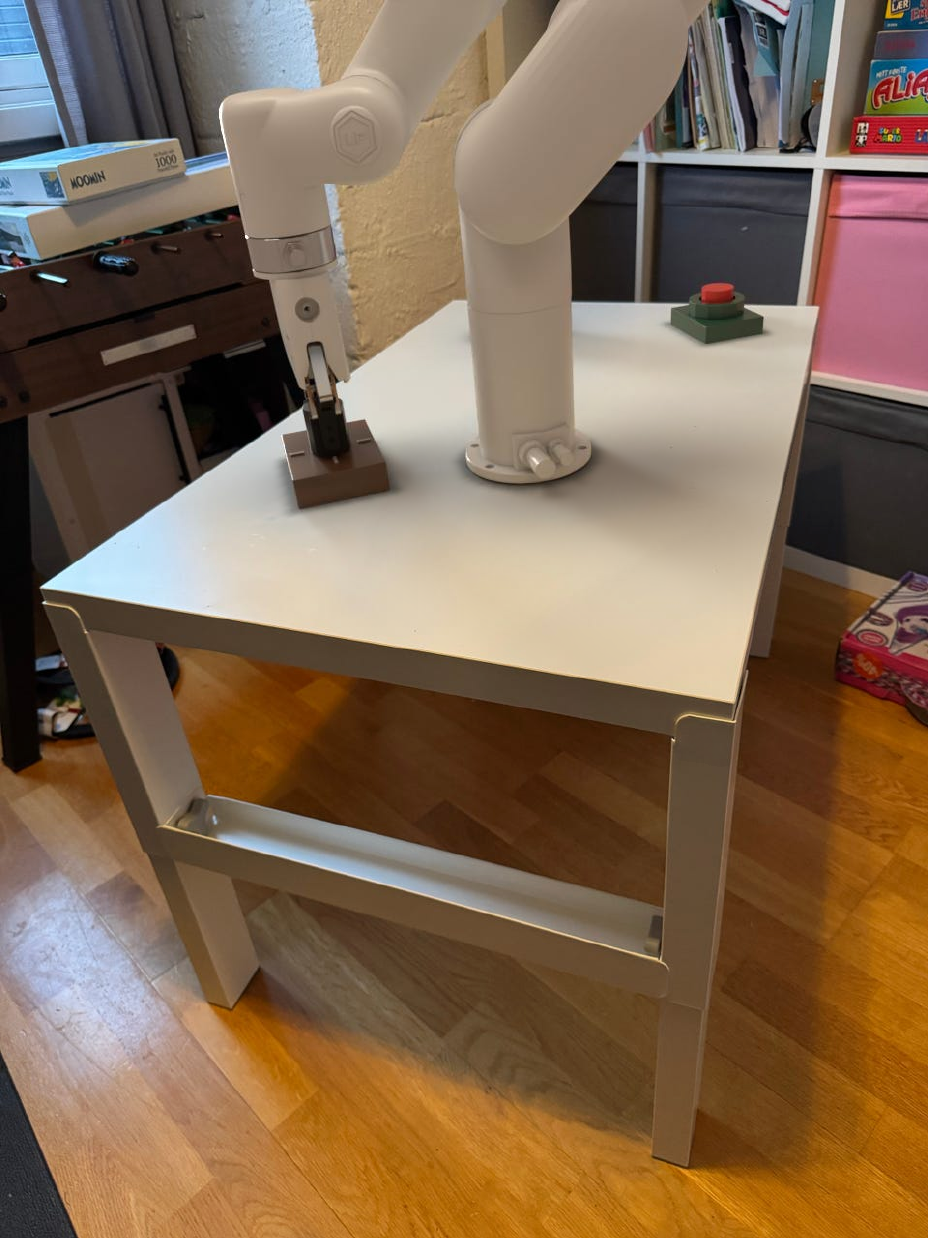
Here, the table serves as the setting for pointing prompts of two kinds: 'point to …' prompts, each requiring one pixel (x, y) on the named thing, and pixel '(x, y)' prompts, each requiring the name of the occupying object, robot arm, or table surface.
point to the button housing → (716, 319)
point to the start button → (717, 293)
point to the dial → (308, 425)
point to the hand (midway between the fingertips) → (329, 442)
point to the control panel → (335, 468)
